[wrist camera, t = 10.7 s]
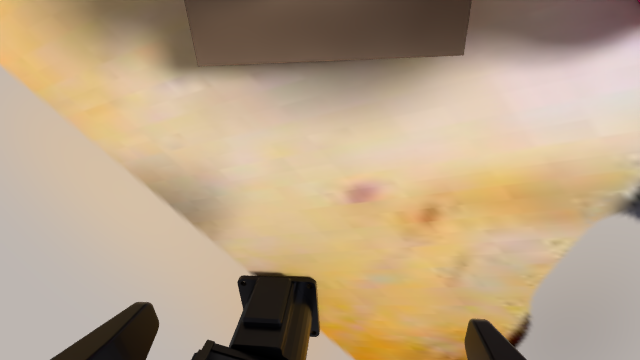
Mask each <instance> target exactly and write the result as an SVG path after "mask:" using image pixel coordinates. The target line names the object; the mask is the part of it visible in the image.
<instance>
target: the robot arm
mask: <svg viewBox="0 0 640 360" xmlns="http://www.w3.org/2000/svg"><path fill="white" fill-rule="evenodd" d="M243 281H244V282H243ZM309 284H311V285H309ZM238 287H239V292H240V296H241V301H242V305H243V312H242V315H241V317H240V320H239V322H238V325H237V328H236V330H235V332H234V335H233V337H232V340H231V342H230V345H229V347H226V346H222V345H219V344H216V343H215V342H214V341H211V340H207V341H206V343H205V345H204V346H203V348H202V350H199V351H198V352H197V353H195V354H194V356H193V357H192V360H306V356H307V350H308V343H309V337H317V336H318V335H319V332H320V325H319V311H318V297H317V284H316V281H315V280H314V279H312V278H293V277H268V276H241V277H240V278H239V280H238ZM158 328H159V320H158V318H157V315H156V313H155V310H154V308H153V305H152V304H151V303H149V302H136V303H134V304H133V305H131V306H130V307H128V308H127V309H125V310H124V311H122V312H121V313H119V314H118V315H116V316H115V317H114V318H112V319H110V320H109V321H107V322H106V323H104V324H103V325H101V326H100V327H98V328H97V329H95V330H94V331H92V332H91V333H89V334H88V335H87V336H85V337H83V338H82V339H80V340H79V341H77V342H76V343H74V344H73V345H72V346H70V347H68V348H67V349H65V350H64V351H63V352H61V353H60V354H58V355H56V356H55V357H53V358H52V359H50V360H146V358H147V355H148V353H149V350H150V348H151V346H152V343H153V341H154V338H155V336H156V334H157V331H158ZM465 349H466V354H467V358H468V360H526V359H525V358H524V357H523V356H522V355H521V353H519V351H518V350H517V349H516V348H515V347H514V346H513V345H512V344H511V343H510V342H509V341H508V340H507V339H506V338H505V337H504V336H503V335H502V334H501V333H500V332H499V331H498V330H497V329H496V328H495V327H494V326H493V325H492V324H491V323H490V322H489V321H487V320H485V319H471V320H470V321H469V323H468V328H467V332H466V337H465Z"/></svg>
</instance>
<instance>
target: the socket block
mask: <svg viewBox="0 0 640 360" xmlns="http://www.w3.org/2000/svg"><path fill="white" fill-rule="evenodd" d="M184 1H185V6H186V11H187V15H188V20H189V25H190V30H191V34H192V39H193V44H194V48H195V53H196V58H197V63H198V66H218V65H242V64H266V63H290V62H314V61H338V60H363V59H387V58H411V57H435V56H459V55H464V49H465V42H466V35H467V28H468V21H469V14H470V7H471V0H184Z"/></svg>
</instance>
